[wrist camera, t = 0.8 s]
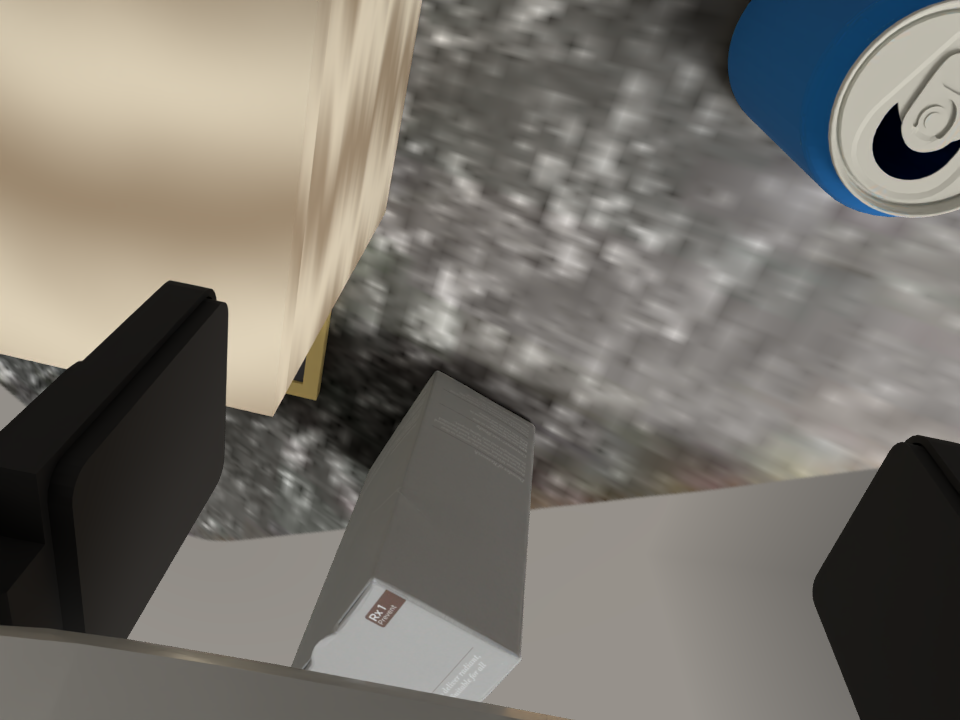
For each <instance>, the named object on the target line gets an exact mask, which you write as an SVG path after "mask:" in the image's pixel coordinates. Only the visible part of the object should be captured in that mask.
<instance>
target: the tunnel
mask: <svg viewBox="0 0 960 720" xmlns="http://www.w3.org/2000/svg"><path fill="white" fill-rule="evenodd" d="M421 4H422V0H0V354H4V355H8V356H13V357H17V358H21V359H26V360H30V361H34V362H39V363H43V364H47V365H52V366H56V367H60V368H64V369H68V368H69V367H70V366H72V365H73V364H75V363H76V362H78V361H83V360H84V359H85V358H86V357H87V356H88V355H89V354H90V353H91V352H92V351H93V350H94V349H95V348H97V347H98V346H99V345H100V344H101V343H102V342H103V341H104V340H105V339H106V338H107V337H108V336H109V335H110V334H111V333H112V332H113V331H115V330H116V329H117V328H118V327H119V326H120V325H121V324H122V323H123V322H124V321H125V320H126V319H127V318H128V317H129V316H130V315H132V314H133V313H134V312H135V311H136V310H137V309H138V308H139V307H140V306H141V305H142V304H143V303H144V302H145V301H146V300H147V299H148V298H150V297H151V296H152V295H153V294H154V293H155V292H156V291H157V290H158V289H159V288H160V287H161V286H162V285H163V284H164V283H166V282H167V281H169V280H172V281H177V282H182V283H187V284H192V285H196V286H201V287H206V288H211V289H213V290H214V292H215V294H216V299H217V301H222V302H226V304H227V306H228V349H227V384H226V406H228V407H233V408H237V409H241V410H246V411H250V412H254V413H259V414H263V415H267V416H272V417H273V415H274V413H275V412H276V410H277V408H278V406H279V404H280V403H281V401H282V399H283V397H284V395H285V394H286V392H287V390H288V388H289V386H290V384H291V383H292V381H293V379H294V377H295V375H296V374H297V372H298V370H299V368H300V366H301V364H302V363H303V361H304V359H305V357H306V355H307V354H308V352H309V350H310V348H311V346H312V345H313V343H314V341H315V339H316V337H317V335H318V334H319V332H320V330H321V328H322V326H323V325H324V323H325V321H326V319H327V317H328V316H329V314H330V312H331V310H332V308H333V306H334V305H335V303H336V301H337V299H338V297H339V296H340V294H341V292H342V290H343V288H344V287H345V285H346V283H347V281H348V279H349V277H350V276H351V274H352V272H353V270H354V268H355V267H356V265H357V263H358V261H359V259H360V257H361V256H362V254H363V252H364V250H365V248H366V247H367V245H368V243H369V241H370V239H371V238H372V236H373V234H374V232H375V230H376V228H377V227H378V225H379V223H380V221H381V219H382V218H383V216H384V214H385V211H386V206H387V200H388V194H389V188H390V183H391V177H392V171H393V165H394V160H395V154H396V148H397V142H398V137H399V131H400V125H401V119H402V113H403V108H404V102H405V96H406V90H407V85H408V79H409V73H410V67H411V62H412V56H413V50H414V44H415V38H416V33H417V27H418V21H419V15H420V10H421Z"/></svg>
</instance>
